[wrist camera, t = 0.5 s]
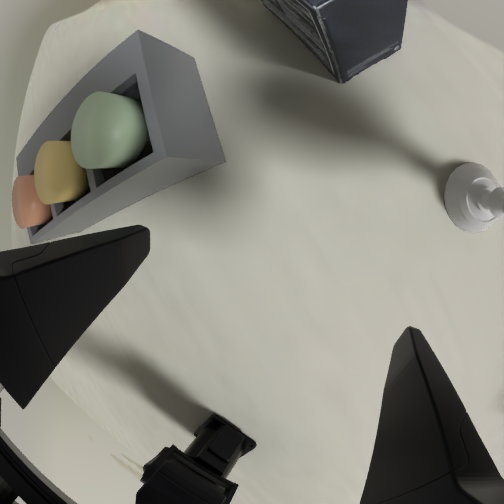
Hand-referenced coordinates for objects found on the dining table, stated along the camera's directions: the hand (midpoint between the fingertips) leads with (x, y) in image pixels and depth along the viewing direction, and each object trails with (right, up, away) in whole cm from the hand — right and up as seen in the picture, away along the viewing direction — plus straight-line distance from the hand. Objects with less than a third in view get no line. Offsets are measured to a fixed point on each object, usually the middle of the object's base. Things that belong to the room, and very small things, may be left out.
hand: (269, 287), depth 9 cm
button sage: (-10, +10, +9) cm, 17 cm away
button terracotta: (-22, +7, +15) cm, 28 cm away
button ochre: (-16, +8, +12) cm, 22 cm away
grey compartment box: (-14, +11, +18) cm, 25 cm away
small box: (+6, +19, +8) cm, 21 cm away
